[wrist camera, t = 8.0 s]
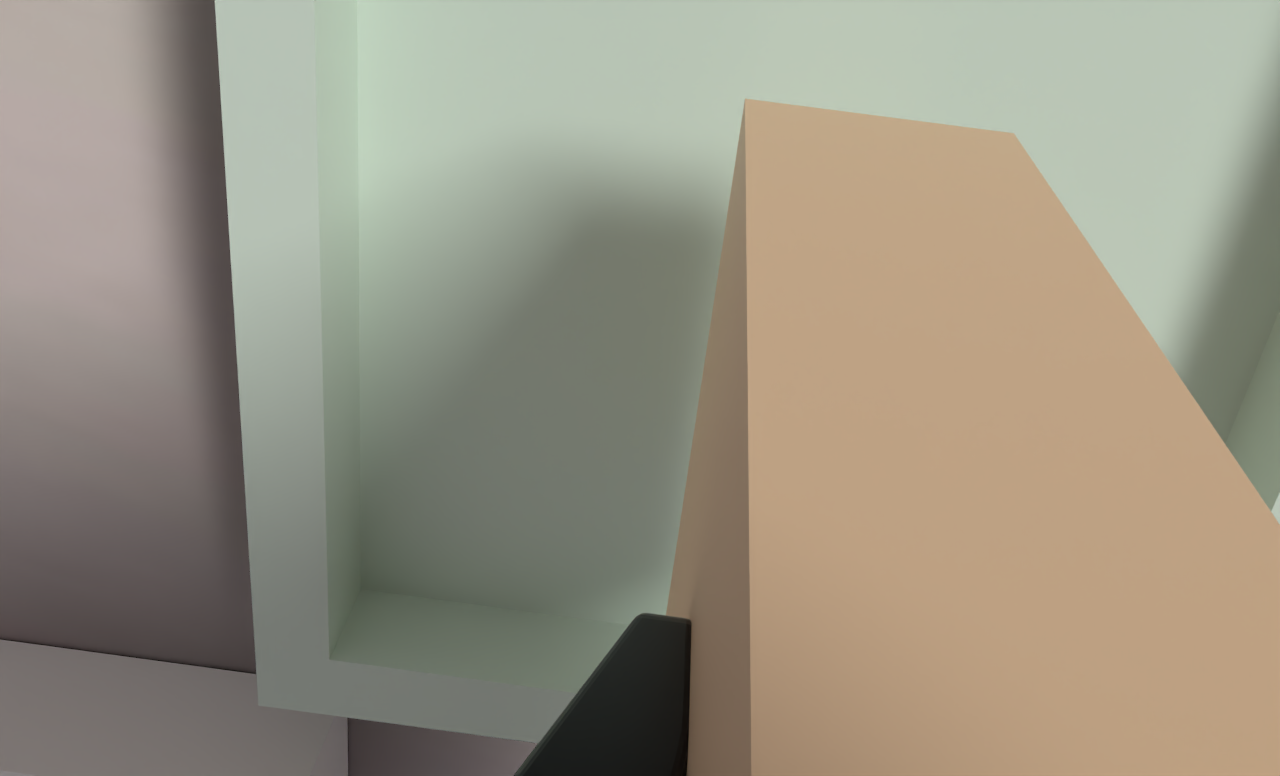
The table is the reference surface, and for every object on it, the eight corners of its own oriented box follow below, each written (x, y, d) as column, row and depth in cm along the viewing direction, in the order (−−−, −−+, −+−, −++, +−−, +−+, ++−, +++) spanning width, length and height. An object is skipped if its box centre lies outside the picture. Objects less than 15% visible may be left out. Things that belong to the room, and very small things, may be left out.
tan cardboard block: (875, 650, 14) (1062, 1926, 6) (664, 621, 14) (559, 1850, 6) (1014, 134, 11) (1790, 1273, 3) (744, 98, 11) (751, 1131, 3)
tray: (1160, 722, 18) (1206, 833, 16) (306, 607, 18) (258, 705, 16) (1579, -249, 12) (1733, -245, 10) (272, -410, 12) (187, -435, 10)
